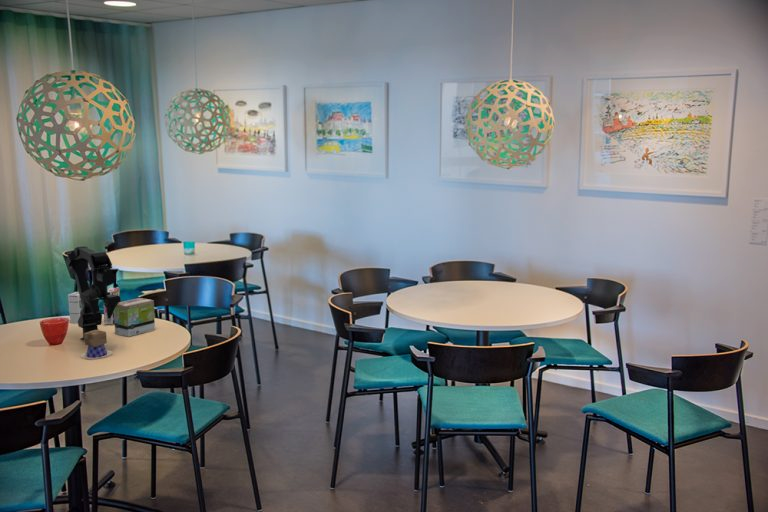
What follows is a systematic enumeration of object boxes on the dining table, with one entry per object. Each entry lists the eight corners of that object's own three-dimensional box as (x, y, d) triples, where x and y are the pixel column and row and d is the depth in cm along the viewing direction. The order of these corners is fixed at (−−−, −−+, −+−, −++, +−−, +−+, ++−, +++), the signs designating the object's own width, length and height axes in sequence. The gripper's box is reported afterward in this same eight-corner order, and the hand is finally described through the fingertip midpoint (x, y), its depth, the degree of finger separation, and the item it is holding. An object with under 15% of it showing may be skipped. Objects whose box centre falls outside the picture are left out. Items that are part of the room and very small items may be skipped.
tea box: (128, 337, 309) (127, 305, 307) (114, 334, 315) (112, 303, 312) (155, 330, 322) (154, 299, 320) (141, 326, 327) (140, 296, 325)
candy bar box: (114, 325, 329) (112, 292, 327) (104, 325, 329) (102, 292, 326) (121, 319, 340) (119, 287, 338) (111, 319, 340) (109, 287, 337)
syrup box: (80, 323, 332) (78, 294, 329) (69, 323, 333) (67, 294, 331) (87, 320, 337) (85, 292, 335) (77, 320, 339) (75, 291, 336)
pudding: (84, 352, 289) (83, 340, 288) (114, 350, 292) (113, 338, 291) (78, 361, 277) (77, 349, 277) (110, 359, 280) (109, 347, 279)
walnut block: (84, 344, 282) (83, 332, 281) (97, 341, 288) (96, 329, 287) (94, 347, 280) (93, 334, 279) (106, 343, 285) (105, 331, 284)
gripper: (68, 282, 289) (71, 318, 292) (98, 287, 280) (100, 324, 283) (91, 278, 299) (94, 312, 302) (120, 282, 290) (122, 318, 292)
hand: (102, 317), depth 294 cm, fingers open, 9 cm apart
